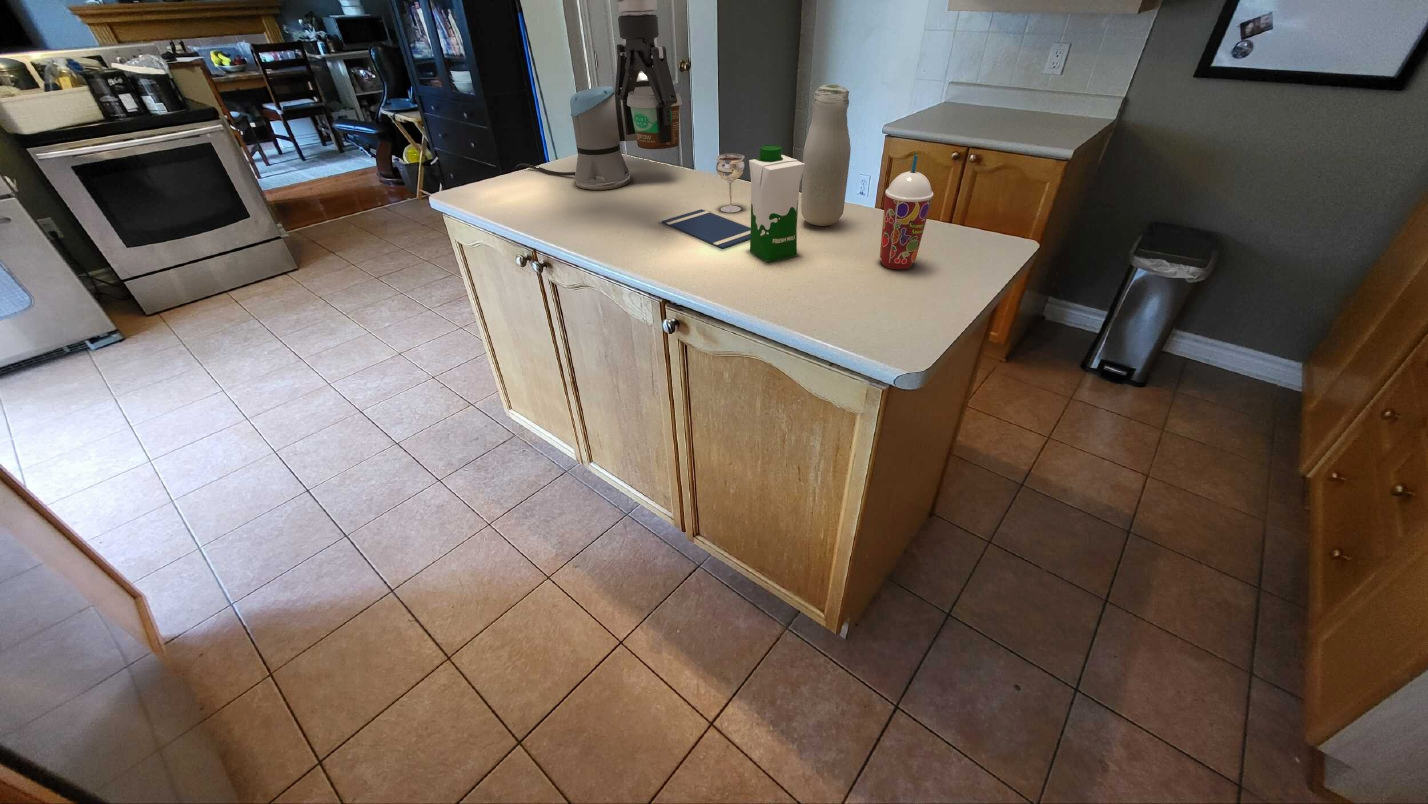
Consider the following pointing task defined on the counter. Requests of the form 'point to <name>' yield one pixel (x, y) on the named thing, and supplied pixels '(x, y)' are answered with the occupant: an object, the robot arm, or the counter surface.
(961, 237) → the counter surface
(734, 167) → the wineglass
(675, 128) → the food container
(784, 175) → the milk carton
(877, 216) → the counter surface
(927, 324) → the counter surface
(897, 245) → the smoothie
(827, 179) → the glass bottle
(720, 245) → the cloth
